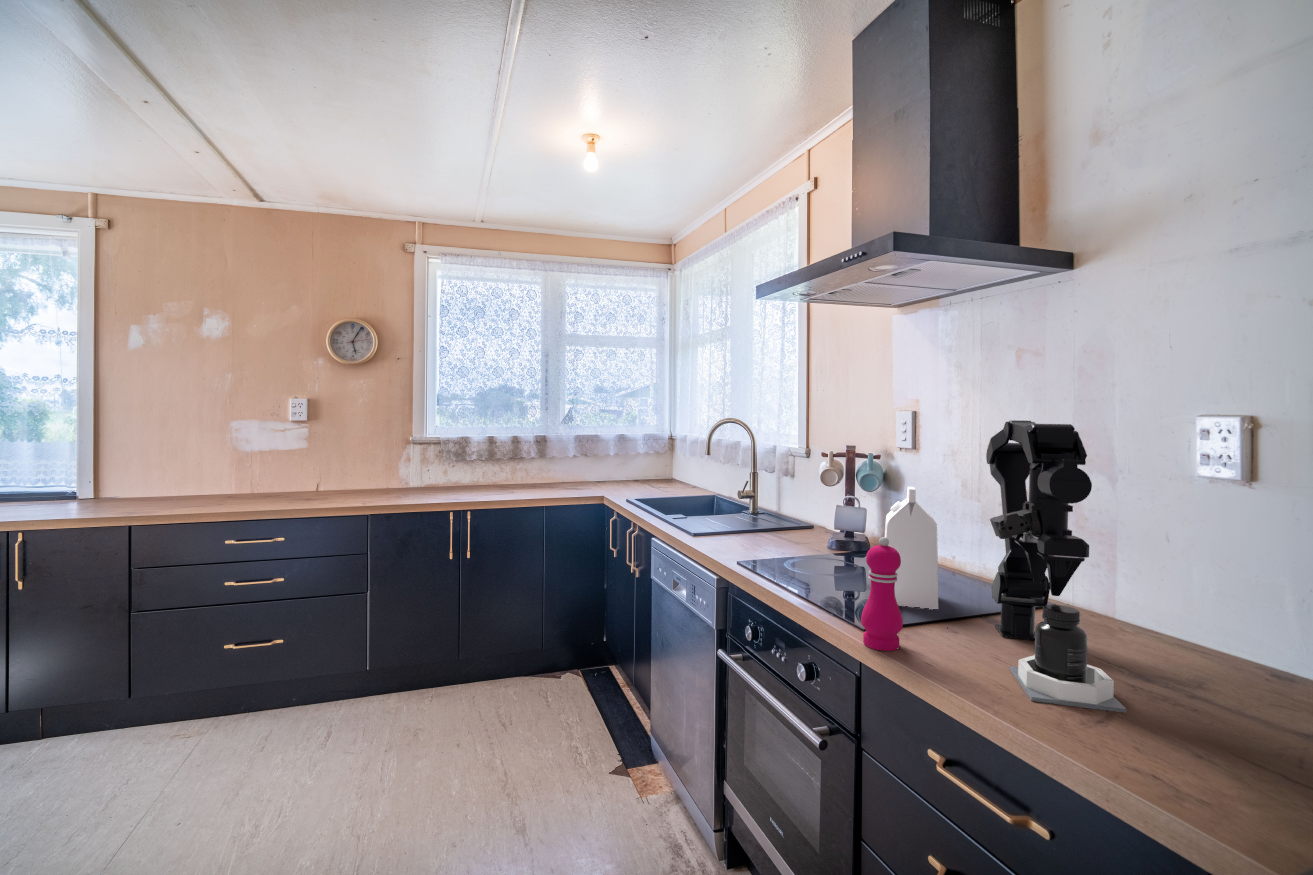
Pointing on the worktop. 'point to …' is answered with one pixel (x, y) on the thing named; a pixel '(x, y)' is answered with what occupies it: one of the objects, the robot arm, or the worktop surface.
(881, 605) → the pepper mill
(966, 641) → the worktop surface
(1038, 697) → the collar seat
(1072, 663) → the supplement bottle
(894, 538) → the milk
